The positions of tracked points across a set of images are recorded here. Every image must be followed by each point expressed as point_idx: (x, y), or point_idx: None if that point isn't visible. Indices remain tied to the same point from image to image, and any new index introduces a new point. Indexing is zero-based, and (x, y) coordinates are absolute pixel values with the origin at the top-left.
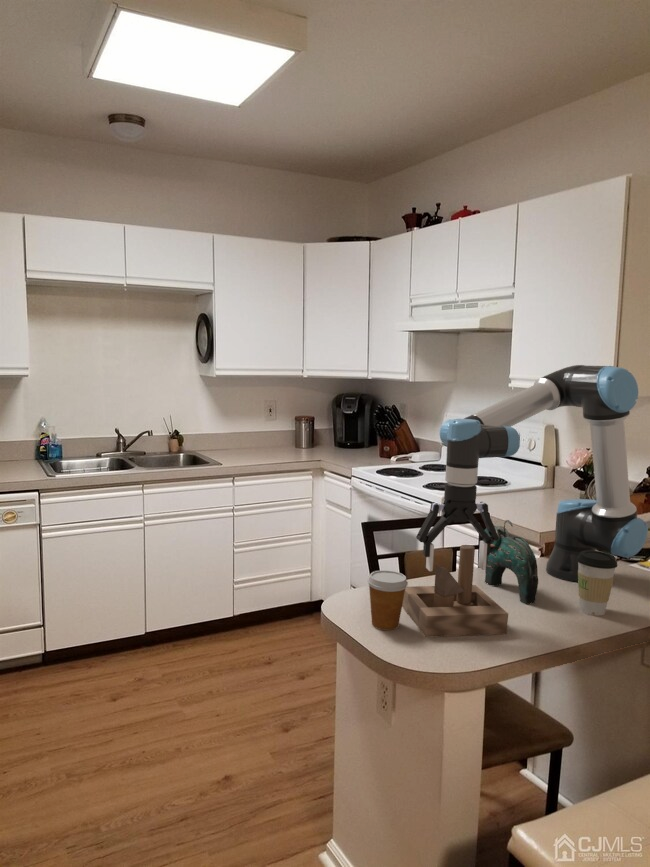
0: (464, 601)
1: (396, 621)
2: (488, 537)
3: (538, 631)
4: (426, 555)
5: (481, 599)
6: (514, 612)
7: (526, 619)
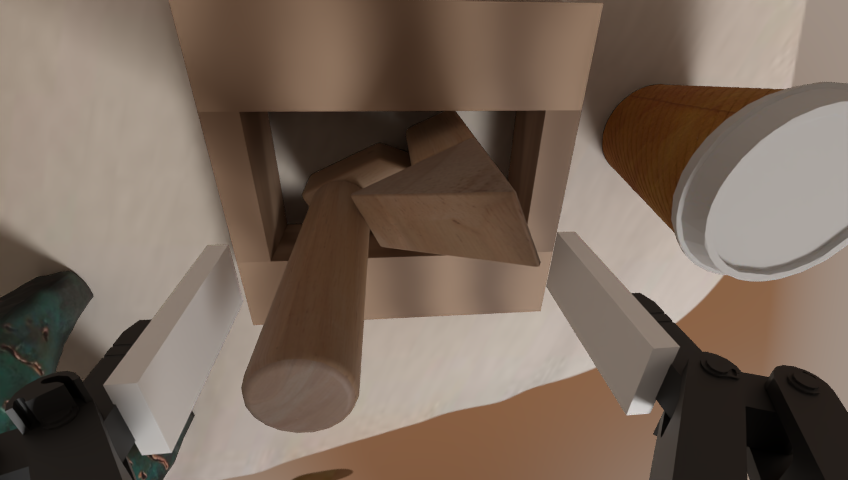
0: (347, 184)
1: (648, 95)
2: (45, 454)
3: (49, 10)
4: (641, 300)
5: (262, 206)
6: (132, 205)
7: (91, 140)
